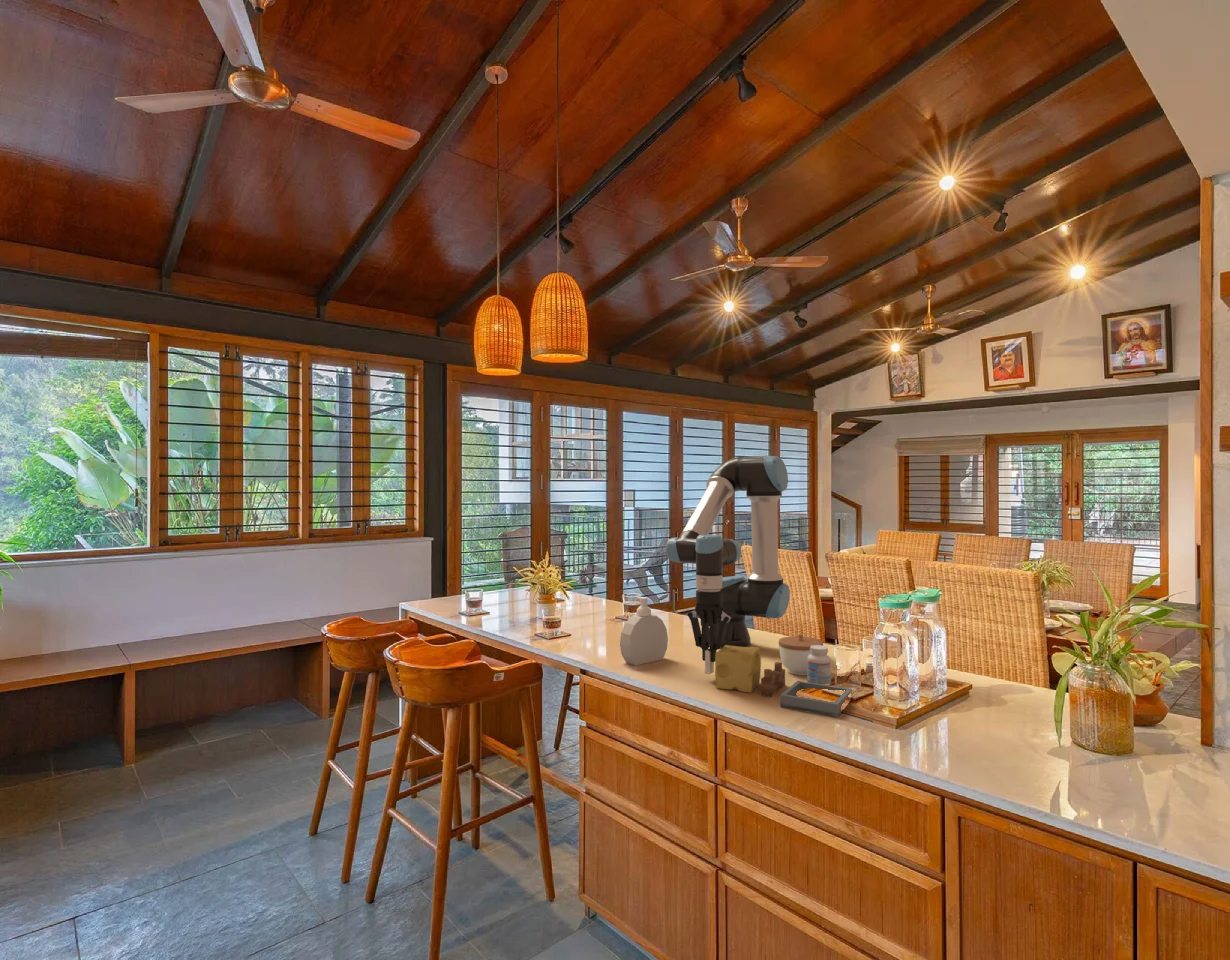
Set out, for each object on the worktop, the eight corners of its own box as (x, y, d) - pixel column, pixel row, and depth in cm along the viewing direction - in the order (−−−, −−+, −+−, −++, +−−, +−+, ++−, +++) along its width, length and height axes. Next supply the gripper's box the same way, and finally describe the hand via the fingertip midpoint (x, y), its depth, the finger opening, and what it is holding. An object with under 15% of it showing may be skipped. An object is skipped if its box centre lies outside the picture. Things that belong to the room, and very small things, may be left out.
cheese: (752, 693, 177) (752, 656, 177) (713, 688, 182) (712, 651, 182) (761, 682, 187) (761, 647, 187) (724, 678, 191) (723, 643, 191)
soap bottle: (657, 655, 218) (657, 594, 218) (668, 658, 214) (668, 596, 214) (618, 663, 208) (618, 599, 208) (629, 667, 204) (628, 601, 204)
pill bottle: (804, 685, 184) (803, 644, 184) (825, 684, 185) (825, 643, 185) (812, 692, 178) (812, 650, 178) (834, 691, 179) (834, 649, 179)
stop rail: (776, 683, 186) (776, 660, 186) (785, 685, 184) (784, 661, 184) (761, 695, 176) (760, 671, 176) (770, 697, 174) (769, 672, 174)
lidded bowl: (785, 664, 206) (785, 628, 206) (827, 669, 199) (827, 632, 200) (773, 674, 195) (773, 636, 195) (817, 680, 189) (817, 641, 189)
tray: (797, 691, 178) (797, 680, 178) (851, 700, 171) (851, 688, 171) (780, 706, 167) (780, 694, 167) (837, 717, 159) (837, 704, 159)
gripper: (682, 589, 190) (682, 672, 190) (724, 593, 183) (725, 679, 183) (694, 586, 197) (694, 666, 197) (735, 589, 190) (736, 673, 189)
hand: (709, 672), depth 190 cm, fingers closed
